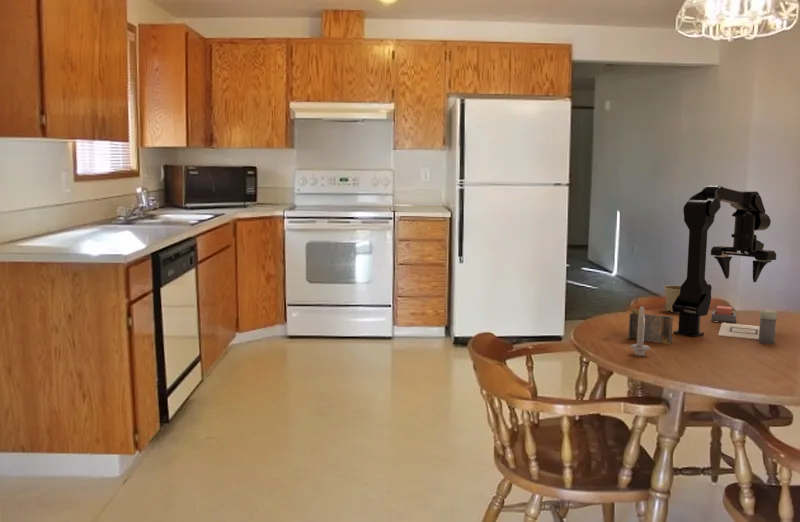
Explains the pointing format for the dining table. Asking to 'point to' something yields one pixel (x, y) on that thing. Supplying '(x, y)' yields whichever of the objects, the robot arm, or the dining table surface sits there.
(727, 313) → the button
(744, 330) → the paper sheet
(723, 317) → the button housing
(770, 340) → the grey cylinder
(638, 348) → the screw
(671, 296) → the flower pot
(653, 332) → the bent metal bracket
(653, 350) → the dining table surface
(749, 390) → the dining table surface
